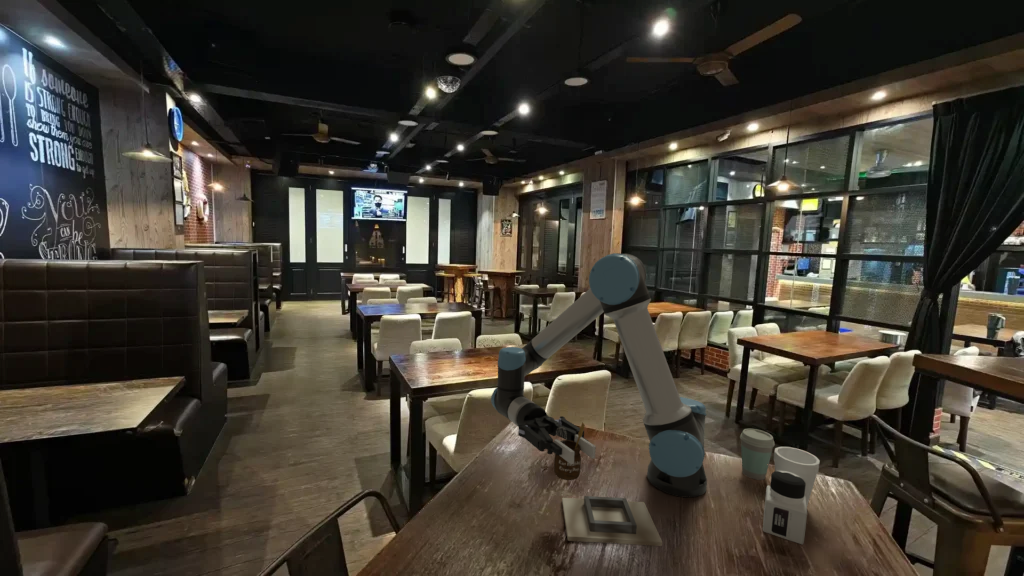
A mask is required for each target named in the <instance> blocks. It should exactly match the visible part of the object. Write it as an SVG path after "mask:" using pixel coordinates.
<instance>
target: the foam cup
mask: <svg viewBox="0 0 1024 576" xmlns="http://www.w3.org/2000/svg"><path fill="white" fill-rule="evenodd" d="M773 461H774V471H787V472H791V473H794V474H796V475H797V476H799V477H801V478H802V479H803V480H804V481H805V483H806V486H805V494H804V496H805V497H806V506H807V507H808V504H809V501H810V498H811V494H812V492H813V488H814V485H815V481H816V478H817V474H819V469H820V461H821V460H820V459H819V458H818V457H817V456H816V455H814V454H812V453H810V452H808V451H806V450H803V449H799V448H796V447H791V446H778V447H775V448H774V454H773Z"/></svg>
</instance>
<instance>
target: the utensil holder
mask: <svg viewBox="0 0 1024 576" xmlns="http://www.w3.org/2000/svg"><path fill="white" fill-rule="evenodd" d="M585 427H586V426H585V423H584V422H582V423H581V424H580V427H579V428H580V431H579V433H578V440H577V443H576V442H574V441H571V440H567V439H565V436H564V439H561V440H559V441H560V442H562V443H563V444H565V445H566V446H567V447H569V448H570V449H572V450H573V451H574V452H575V453H574V464H570V463H568V462H567V461H566V460H565V459H563V458H562V457H561V456H559V455H556V454H555V453H554V462H553V472H554V475H555V476H556V477H557V478H559V479H560V480H565V481H573V480H577V479H578V478H579V476H580V475H581V463H582V457H581V456H582V455H581V453H580V451H581V450H580V446H579V444H578V442H579V439H580V438H581V437H582V433H583V430H584V429H585ZM557 429H559V428H557ZM563 430H564V429H563ZM561 431H562V430H561ZM565 431H566V430H565ZM584 431H585V430H584ZM558 433H559V431H558ZM565 435H566V434H565ZM560 436H561V434H560ZM566 436H567V435H566ZM562 437H563V436H562ZM556 438H559V434H558V436H557V435H556Z"/></svg>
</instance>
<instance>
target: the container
mask: <svg viewBox="0 0 1024 576" xmlns="http://www.w3.org/2000/svg"><path fill="white" fill-rule="evenodd" d="M770 474H771V475H770V483H769V485H767V486H766V489H765V490H766V491H765V498H764V501H765V502H764V509H763V518H762V519H763V522H762V531H763V532H764V533H765V534H769V535H773V536H776V537H778V538H782V539H785V540H787V541H790V542H793V543H796V544H799V545H804V544H805V536H806V535H805V534H806V528H807V519H808V505H807V506H806V497H805V496H804V494H805V486H806V483H805V481H804V480H803V479H802V478H801V477H799V476H797V475H796V474H794V473H791V472H787V471H775V470H774V471H773V472H772V473H770Z"/></svg>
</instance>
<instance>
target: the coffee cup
mask: <svg viewBox="0 0 1024 576" xmlns="http://www.w3.org/2000/svg"><path fill="white" fill-rule="evenodd" d="M739 438H740V442H741V443H740V447H741V448H740V449H741V472H742V474H743V475H745V476H746V477H747V478H750V479H752V480H756V481H762V480H765V479H766V476H767V473H768V468H769V465H770V461H771V458H772V453H773V449H774V447H775V445H776V444H775V441H774V437H773V435H772V434H770V433H769V432H766V431H764V430H761V429H757V428H744V429H742V432H741V434H740V436H739ZM767 464H768V465H767Z"/></svg>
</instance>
